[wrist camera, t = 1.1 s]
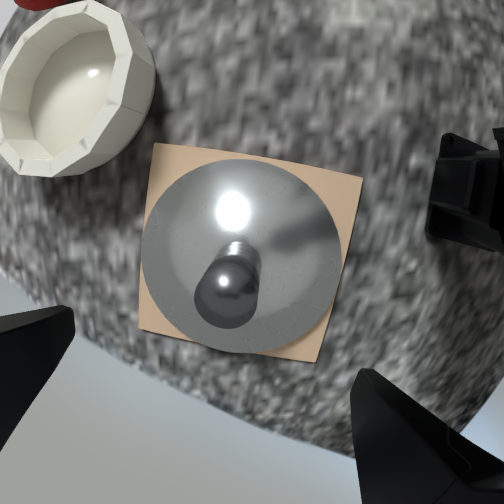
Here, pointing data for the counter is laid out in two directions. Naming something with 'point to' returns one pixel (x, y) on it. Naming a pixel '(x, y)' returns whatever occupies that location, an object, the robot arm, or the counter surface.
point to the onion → (38, 4)
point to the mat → (319, 180)
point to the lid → (241, 255)
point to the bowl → (74, 91)
